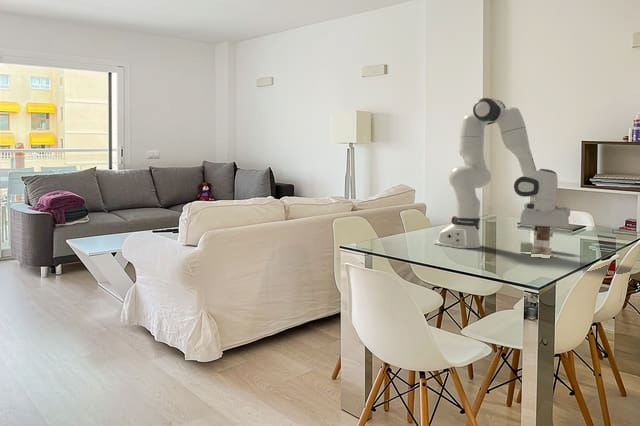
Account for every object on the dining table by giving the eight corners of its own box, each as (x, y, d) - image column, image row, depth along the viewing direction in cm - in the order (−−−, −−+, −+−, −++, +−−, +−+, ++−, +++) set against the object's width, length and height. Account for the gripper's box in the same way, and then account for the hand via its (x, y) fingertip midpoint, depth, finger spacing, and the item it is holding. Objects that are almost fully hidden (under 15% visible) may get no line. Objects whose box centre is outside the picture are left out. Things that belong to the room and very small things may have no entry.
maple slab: (530, 257, 248) (531, 248, 248) (532, 254, 255) (532, 246, 255) (549, 259, 245) (550, 251, 244) (550, 256, 252) (551, 248, 251)
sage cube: (520, 254, 255) (521, 243, 254) (518, 251, 259) (519, 241, 259) (531, 254, 254) (532, 244, 253) (530, 252, 258) (530, 242, 258)
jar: (527, 250, 264) (530, 225, 262) (530, 247, 271) (532, 223, 269) (547, 252, 259) (550, 227, 258) (550, 250, 266) (552, 225, 265)
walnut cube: (536, 239, 247) (537, 228, 247) (537, 238, 252) (538, 227, 251) (548, 240, 245) (549, 229, 245) (549, 239, 250) (550, 228, 249)
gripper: (571, 206, 245) (568, 237, 247) (522, 203, 254) (520, 233, 256) (570, 207, 239) (568, 239, 241) (520, 204, 248) (518, 234, 250)
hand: (543, 236), depth 248 cm, fingers closed on walnut cube, 5 cm apart
